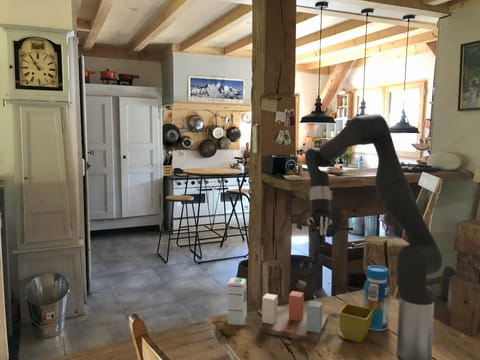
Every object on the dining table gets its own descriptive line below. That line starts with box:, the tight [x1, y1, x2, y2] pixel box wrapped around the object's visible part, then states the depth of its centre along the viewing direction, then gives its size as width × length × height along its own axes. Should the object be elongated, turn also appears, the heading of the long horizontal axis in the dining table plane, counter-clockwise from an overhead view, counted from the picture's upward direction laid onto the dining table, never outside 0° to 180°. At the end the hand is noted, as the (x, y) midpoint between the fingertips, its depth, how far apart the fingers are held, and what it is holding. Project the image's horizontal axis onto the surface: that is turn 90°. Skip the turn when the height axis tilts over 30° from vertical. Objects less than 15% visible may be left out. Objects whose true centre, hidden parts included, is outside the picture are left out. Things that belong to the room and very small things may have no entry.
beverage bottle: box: [362, 264, 391, 332], centre depth 138 cm, size 8×8×20 cm
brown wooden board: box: [258, 305, 329, 344], centre depth 140 cm, size 19×18×2 cm
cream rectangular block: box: [261, 292, 279, 324], centre depth 138 cm, size 4×4×8 cm
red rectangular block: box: [288, 290, 305, 321], centre depth 140 cm, size 4×4×8 cm
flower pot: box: [338, 303, 373, 344], centre depth 131 cm, size 9×9×9 cm
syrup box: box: [226, 277, 248, 326], centre depth 142 cm, size 6×6×14 cm
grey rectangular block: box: [306, 300, 323, 333], centre depth 132 cm, size 4×4×8 cm
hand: (321, 246), depth 152 cm, fingers closed
